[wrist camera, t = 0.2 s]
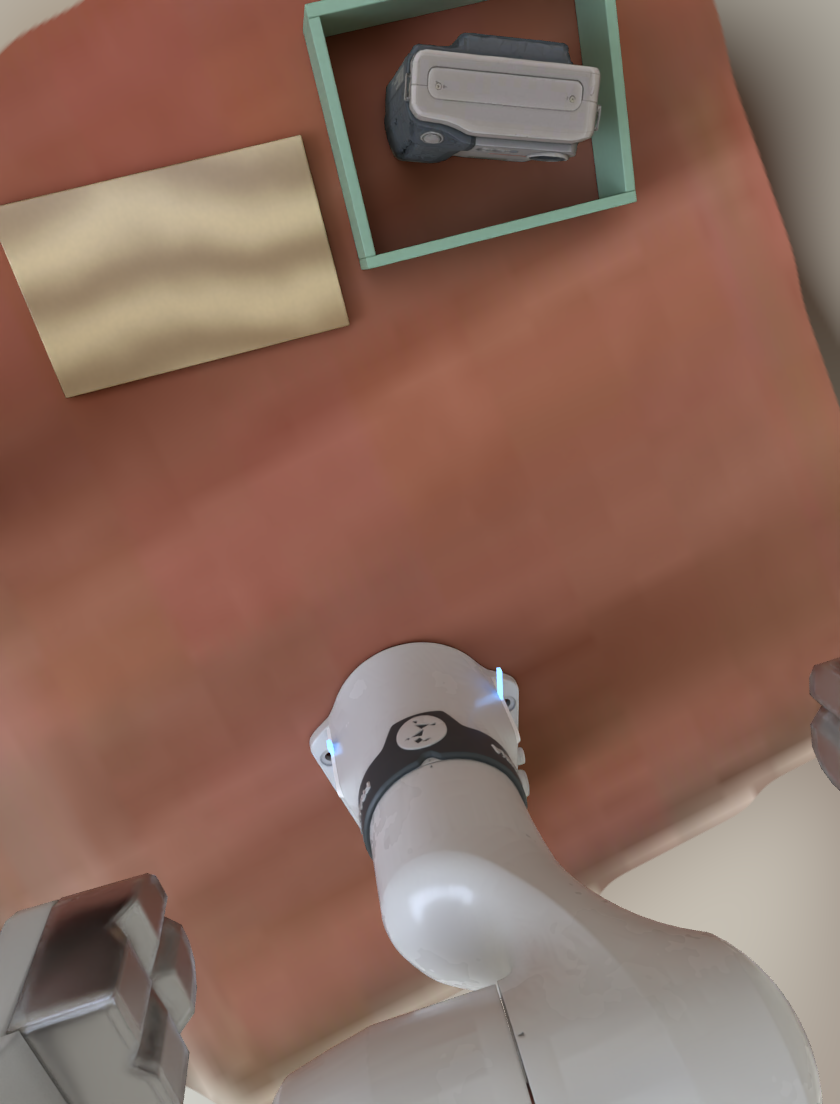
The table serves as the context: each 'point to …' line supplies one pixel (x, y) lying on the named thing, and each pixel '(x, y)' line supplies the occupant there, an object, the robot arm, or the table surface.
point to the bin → (371, 3)
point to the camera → (491, 101)
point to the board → (175, 265)
